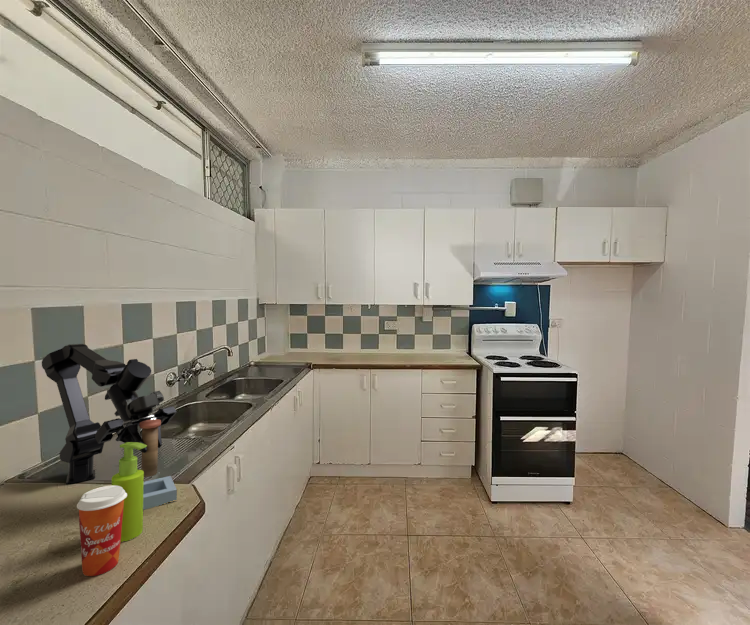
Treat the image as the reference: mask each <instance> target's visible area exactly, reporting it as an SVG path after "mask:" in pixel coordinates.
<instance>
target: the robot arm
mask: <svg viewBox="0 0 750 625" xmlns="http://www.w3.org/2000/svg"><path fill="white" fill-rule="evenodd" d="M81 367H83V368H84V369H85V370H87V372H90V374H92V375H91V380H93V382H94V383H95V384H96V385H97V386H99V387H102V388H103V387H107V386H110V387H109V389H106V393H105V396H104V400H105V401H107V400H110V401H111V402H112V404H113V406H114V408H115V410H116V411H115V412H114V415H115V417H118V416H119V417H120V418H114V419H113V418H112V419H111V420H110V419H109V420H105V421H104V422H102V424H100V422H98V421H97V422H94V421H92V420H91V419H90V416H89V413H88V408H87V405H86V402H85V400H84V397H83V393H82V392H83V391H82V390H81V387H80V383H79V380H78V374H79V372H80V369H81ZM41 368H42V369H43V370H44V373H45V374H46V377H47V378H48V379H50V380H51V381H53V382H54V383H56V386H57V389H58V392H59V396H60V398H61V403H62V406H63V410H64V413H65V417H66V420H67V423H68V427H69V429H68V432H67V433H66V436H65V439H64V440H65V444H64V446H63V447H62V448H61V450H60V451H59V460H60V461H61V462H65V463H68V474H67V475H66V481H65V484H66V485H69V484H68V483H71V484H75V483H79V482H80V483H81V482H84V481H89V480H94V479H95V478H96V469H94V462H95V461H94V456H96V455H98V454H99V455H100V454H102V452H103V448H104V445H105V443H108V442H111V441H112V440H113V437H114V433H116V435H117V437H116V438H115V441H116V442H121V443H123V444H124V443H126V442H138V443H142V444H145V443H144V442H143V440H142V435H140V433H139V428H138V427H139V423H140V422H142V421H145V420H152V419H158V420H161V425H160V426H158V449H160V448H162V446H163V444H162V430H161V428H162V426H166V425H167V424H169V423H170V421H171V420H173V418H174V417H175V415H176V414H177V413H178V411H177V410H176V408H175V407H174V406H173V405H168V406H165V407H164V406H163V407H160V408H158V409H157V411H156V412H155V413H154V414H151V413H152V412H153V411H154V409H153V408H155V407H157V406H158V407H159V406H160V405H161V403H163V402H164V399H165V398H164V395H163V393H162V392H161V390H155V391H153V392H151V393H150V394H147V395H142V396H139V395H138V394H137V391H138V390H140V389H141V388H142V386H143V385H144V384H145V382H146V381H147V379H149V377H150V375H152V368H151V367H150V366H149V365H148V364H147V363H145V362H141V361H139V360H138V359H137V358H132V359H129V360H128V361H127V362H126V363H124V362H120V361H118V360H109V359H106V358H105V357H103V356H102V355H100V354H98V352H95V351H94V350H92V349H91V348H89V347H88V345H87V344H84V343H76V344H75V343H73V344H66V345H65V346H62V348H60V349H57V350H54V351H51V352H50V353H48V354H46V356H44V357H43V358H42V360H41ZM149 414H151V415H149ZM138 451H139V452H141V453H142V452H143V453H146V452H147V448H146V447H145V448H143V449H140V450H138Z"/></svg>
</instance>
